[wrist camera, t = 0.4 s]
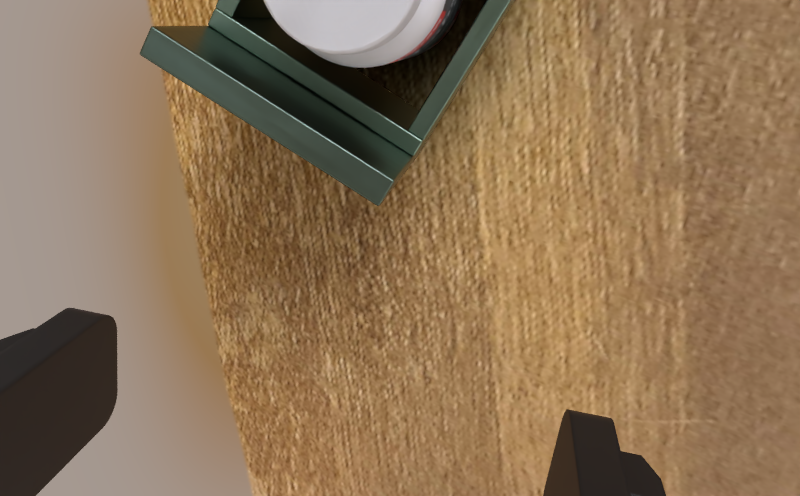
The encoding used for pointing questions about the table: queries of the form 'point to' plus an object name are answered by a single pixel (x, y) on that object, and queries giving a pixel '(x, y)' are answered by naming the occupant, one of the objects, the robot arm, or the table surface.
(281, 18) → the pill bottle
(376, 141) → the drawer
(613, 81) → the table surface
